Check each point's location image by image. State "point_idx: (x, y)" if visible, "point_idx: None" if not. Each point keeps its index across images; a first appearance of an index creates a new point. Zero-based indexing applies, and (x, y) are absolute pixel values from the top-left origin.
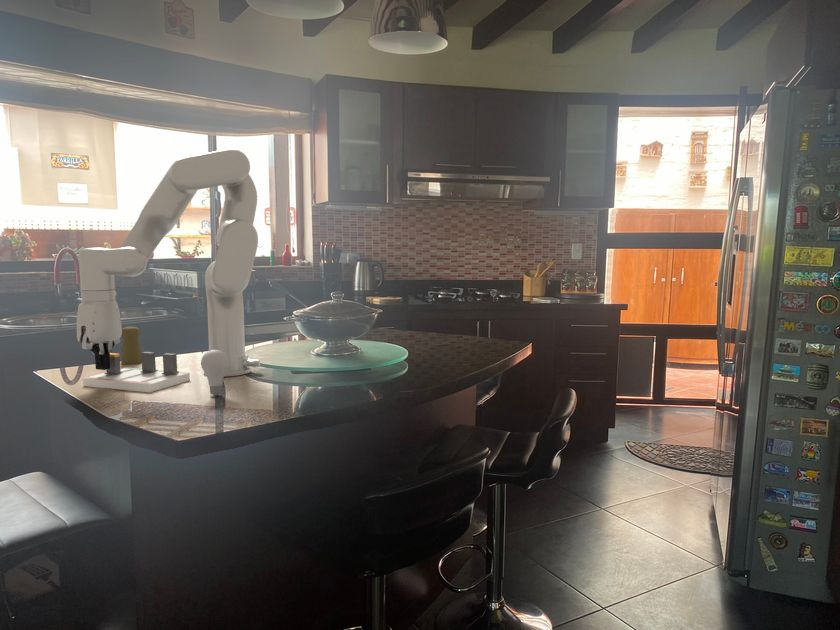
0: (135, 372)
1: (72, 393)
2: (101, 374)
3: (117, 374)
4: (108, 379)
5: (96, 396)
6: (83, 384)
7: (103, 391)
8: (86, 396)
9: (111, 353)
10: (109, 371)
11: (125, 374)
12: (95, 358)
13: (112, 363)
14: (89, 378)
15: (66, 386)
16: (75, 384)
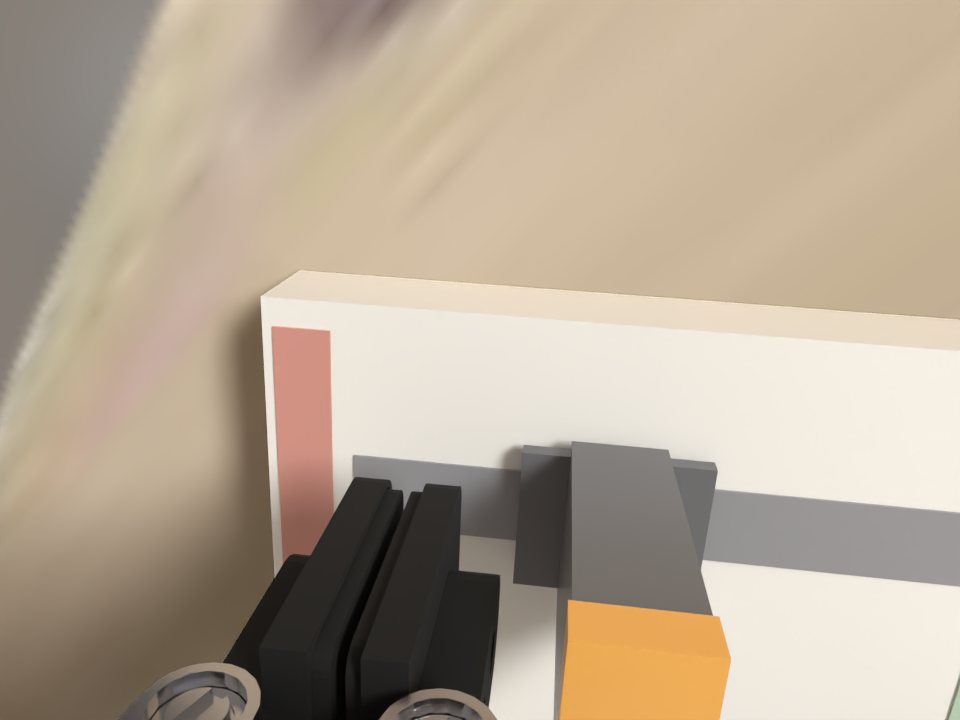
0: (773, 705)
1: (10, 429)
2: (544, 368)
3: None
4: None
5: (45, 710)
6: (294, 276)
7: (201, 650)
8: (3, 635)
9: (673, 717)
10: (564, 511)
11: None
12: (242, 641)
13: (557, 658)
14: (278, 403)
15: (203, 61)
16: (334, 81)
